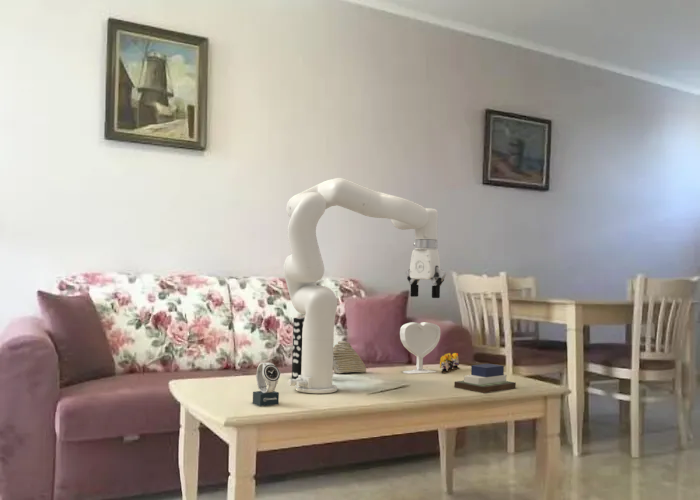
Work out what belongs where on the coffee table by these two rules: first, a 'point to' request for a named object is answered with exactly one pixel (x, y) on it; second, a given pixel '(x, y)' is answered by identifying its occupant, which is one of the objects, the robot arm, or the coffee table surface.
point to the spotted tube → (297, 347)
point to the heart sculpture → (419, 341)
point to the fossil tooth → (346, 359)
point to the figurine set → (449, 362)
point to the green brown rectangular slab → (485, 386)
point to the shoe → (485, 374)
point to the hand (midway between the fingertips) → (424, 297)
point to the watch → (271, 377)
